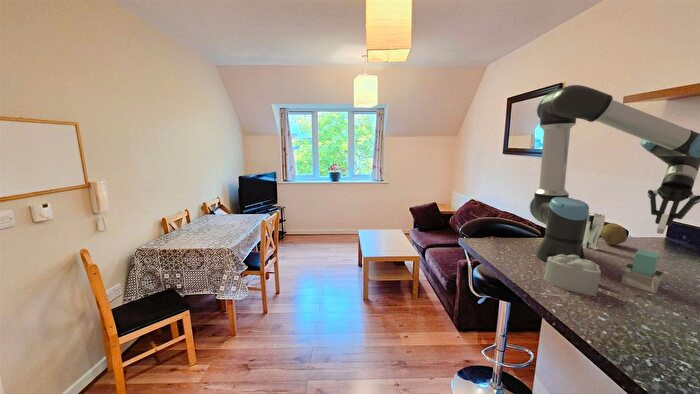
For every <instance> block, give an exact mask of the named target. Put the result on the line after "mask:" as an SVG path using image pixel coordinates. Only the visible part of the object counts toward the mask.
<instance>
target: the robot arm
mask: <svg viewBox="0 0 700 394" xmlns="http://www.w3.org/2000/svg"><path fill="white" fill-rule="evenodd" d="M536 114H537V116H538V118H539V127H540V128H541V129H542V130H543V136H542V149H541V150H542V151H541V161H540V162H541V164H540V173H539V174H540V176H539V186H538V189H536V190H535V191H534V196H533V198H532V200H530V202H529V211H530V212H529V213H530V214H531V216H532V217H533V218H534V219H535V220H537V221H538V222H540V223H541V224H544V225H545V234H544V237H543V239H542V241H541V242H540V244H539V246H538V247H537V250H536V257H537V258H538V259H540V260H542V261H544V262H546V263H547V260H548V257H550V256H557V255H560V254H563V255H566V256H568V255H577V256H579V257H580V258H581V259H586V255H585V254H586V253H585V250H584V249H585V248H583V239H584V234H585V229H586V224H587V219H588V216H589V213H590V212H589V211H590V206H589V205H588V203H586V202H585V201H583V200H580V199H575V198H572V197H569V196H570V193H569V192H568V191H567V190H566V189H565V187H566V186H565V185H566V179H567V167H568V166H567V165H568V158H569V156H568V155H569V149H570V148H569V146H570V135H571V129H572V128H573V127H574V126H576V125H577V119H579V120H584V121H587V122H589V123H593V122H598V123H600V124H604V125H606V126H608V127H610V128H613V129H616V130H619V131H621V132H624V133H626V134H629V135H630V136H634V137H637V138H639V139H641V140H640V146H641V147H642V148H643V149H644V150H646V152H648V153H650V154H652V155H653V156H654V157H656V158H658V159H659V160H661V161H662V162H664V163H665V164H666V165H667V168H666V171H665V174H664V176H663V179H662V181H661V184H660V186H659V187H658V188H657V189H656V190H652V189H648V190H647V197H648V198H649V200H650V214H651V215H652V216H656V218H655V224H656V225H657V229H656V233H657V234H661V235H664V232H665V230H666V226H668V227H671V226H672V224H673V221H674V220H675V219H676V220H682V219H684V217H685V216H686V214H687V213H689V211H691V209H693V207H694V206H695V205H697V204H699V203H700V194H699V195H695V194H694V193H693V189H694V188H693V187H694V184H695V182H696V178H697V177H698V172H699V169H700V133H699V132H697V131H694V130H692V129H689V128H687V127H684V126H681V125H678V124H676V123H673V122H671V121H669V120H666V119H663V118H661V117H658V116H655V115H653V114H650V113H647V112H645V111H642V110H640V109H637V108H635V107H632V106H630V105H627V104H625V103H622V102H619V101H617V100H614V97H613V96H612V95H611V94H608V93H606V92H603V91H601V90H598V89H595V88H593V87H589V86H585V85H580V84H571V85H567V86H564V87H561V88H559V89H556V90H552V91H550V92H549V93H547V94H546V95H544V96H543V97H542V98H541V99H540V100H539V102H538V104H537V107H536ZM657 195H659V197H660V198H661V199H662V201H661V204H660V207H659V210H658V209H657V199H656V197H657ZM685 200H687V202H686V203H685V204H684V205H683V207H682V208H681V209H680V210H679V211H678V212H677V210H678V207H679V206H680V202H683V201H685ZM669 202H672V204H671V208H670V211H669V214H666V213H665V212H666V209H667V206H668V204H669ZM586 260H587V259H586Z"/></svg>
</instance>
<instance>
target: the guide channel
mask: <svg viewBox="0 0 700 394" xmlns="http://www.w3.org/2000/svg"><path fill="white" fill-rule="evenodd" d="M632 267H633V263H628V264H627V265H626V267H625V269H623V273H622V277H621V283H620V284H623V285H627V286H630V287H633V288H636V289H640V290H643V291H647V292H650V293H653V294H657V291H658V289H659V287H660V283H661V279H662V276H663V271H661V270H655V273H654V277H651V276H647V275H644V274H640V273H636V272H632Z"/></svg>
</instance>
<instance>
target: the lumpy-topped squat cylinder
mask: <svg viewBox="0 0 700 394" xmlns="http://www.w3.org/2000/svg"><path fill="white" fill-rule="evenodd" d="M601 275H602V271H601V269H600V265H599V264H597V263H595V262H594V261H593V260H589V259H581V258H580V257H579V256H577V255H568V256H566V255H563V254H560V255H557V256H550V257H548V260H547V262H546V266H545V273H544V277H543V278H544V280H545V281H547V282H548V283H549V284H551V285H553V286H556V287H558V288H560V289H563V290H566V291H570V292H573V293H576V294H577V293H579V294H582V295H587V296H588V295H589V296H596V295H598V294H597V293H598V289H599V286H600V285H599V284H600V279H601Z"/></svg>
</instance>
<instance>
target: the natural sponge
mask: <svg viewBox="0 0 700 394" xmlns="http://www.w3.org/2000/svg"><path fill="white" fill-rule="evenodd" d="M600 238H601V239H603V241H605V243H606V244H607V245H610V246H616V245H619V244H622V243H625V242H626V241H627V239H628V235H627V232H626V229H625V228H624V227H623V226H621V225H620V224H618V223H614V222H613V223H612V222H611V223H607V224H604V227H603V230H602V233H601V235H600Z"/></svg>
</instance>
